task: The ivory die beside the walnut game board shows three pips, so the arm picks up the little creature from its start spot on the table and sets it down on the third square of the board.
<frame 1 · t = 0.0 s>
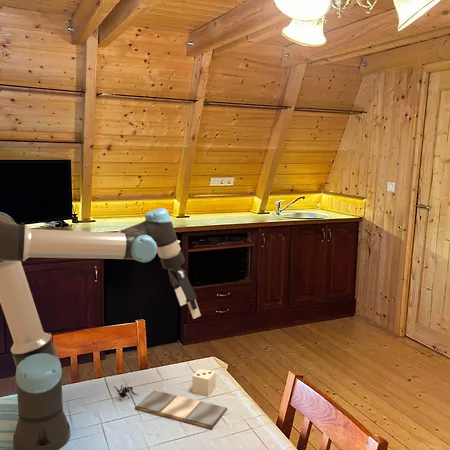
hand: (190, 310, 161), 28 cm above the table, tool tilted 20°, fingers open, 13 cm apart
board: (181, 409, 151), on the table
die: (204, 390, 163), on the table
creature: (127, 396, 159), on the table
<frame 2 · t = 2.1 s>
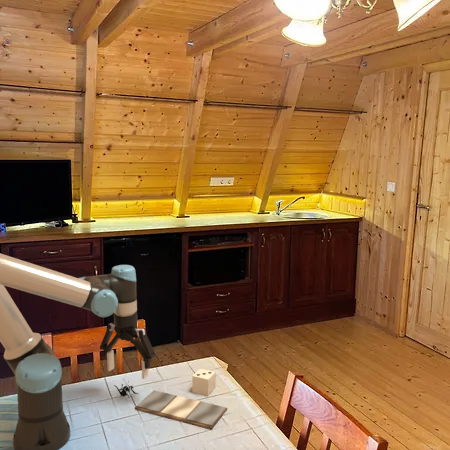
hand: (127, 373, 157), 8 cm above the table, tool pointing down, fingers open, 13 cm apart
nothing on the table moved.
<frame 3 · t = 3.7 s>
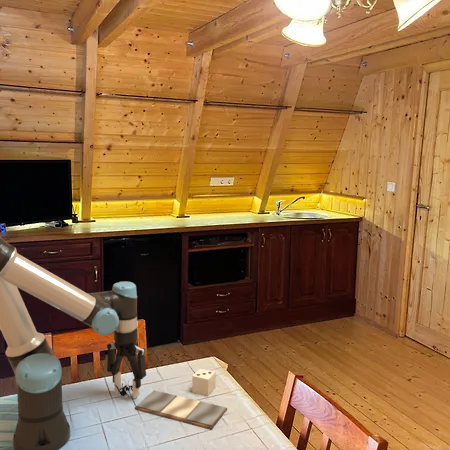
hand: (126, 393, 158), 1 cm above the table, tool pointing down, fingers closed on creature, 6 cm apart
creature: (127, 395, 160), on the table, touching gripper
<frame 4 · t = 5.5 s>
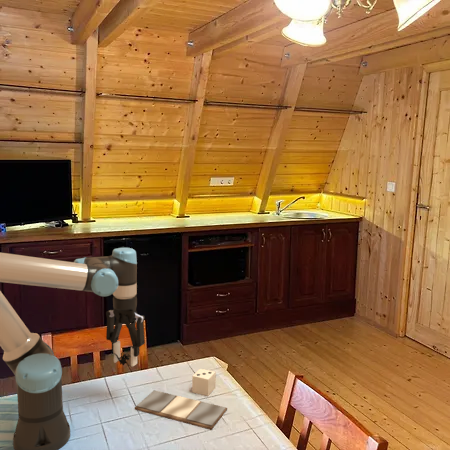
hand: (125, 362, 156), 12 cm above the table, tool pointing down, fingers closed on creature, 6 cm apart
creature: (126, 364, 158), point 11 cm above the table, touching gripper
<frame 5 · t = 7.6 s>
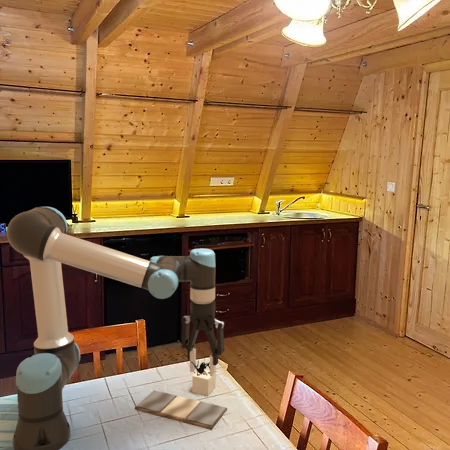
hand: (202, 371, 146), 14 cm above the table, tool pointing down, fingers closed on creature, 6 cm apart
creature: (203, 373, 147), point 13 cm above the table, touching gripper
when the fingers open (2 cm above the table, at t = 10.7 s): creature stays where it is, resting on board.
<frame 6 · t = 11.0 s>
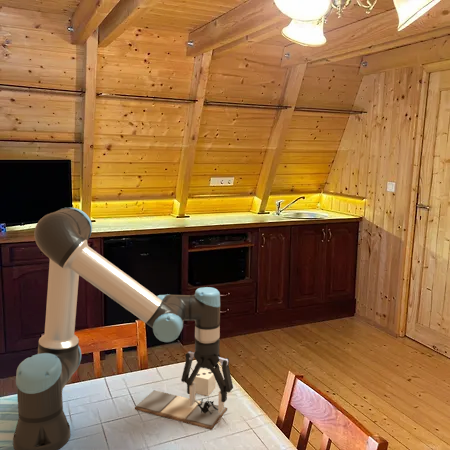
hand: (206, 407, 147), 3 cm above the table, tool pointing down, fingers open, 9 cm apart
creature: (207, 411, 148), point 1 cm above the table, touching board
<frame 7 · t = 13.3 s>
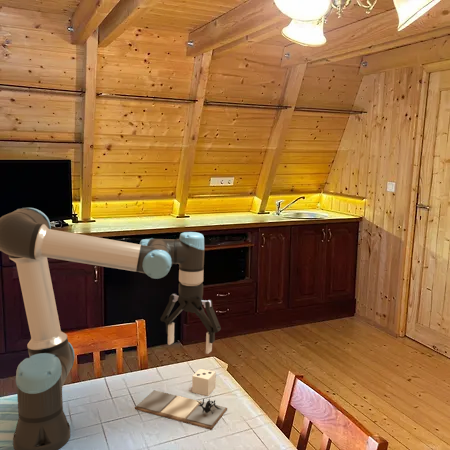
hand: (189, 347, 149), 20 cm above the table, tool pointing down, fingers open, 13 cm apart
nothing on the table moved.
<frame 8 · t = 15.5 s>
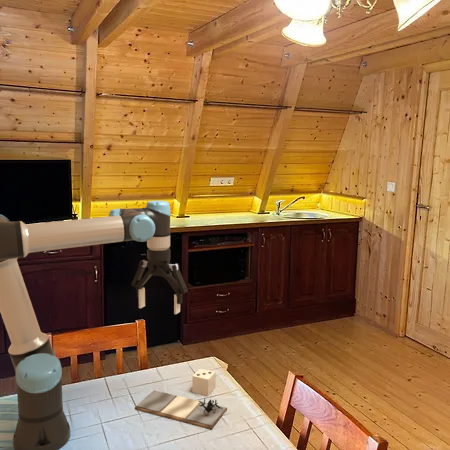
hand: (159, 310, 158), 29 cm above the table, tool pointing down, fingers open, 13 cm apart
nothing on the table moved.
at the end: creature inside the target area on the board (1.9 cm from its centre), point 0.8 cm above the board's base; creature tilted 0°; the gripper is holding nothing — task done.
